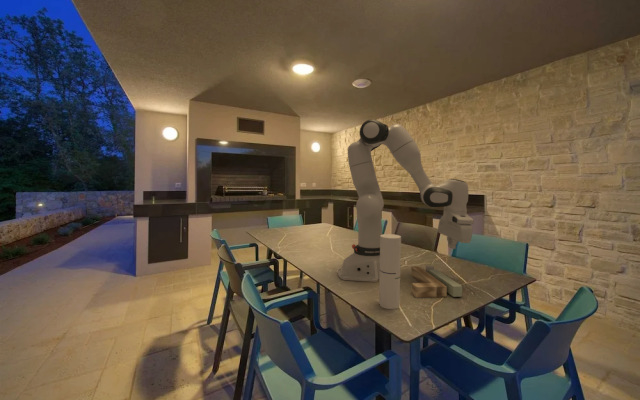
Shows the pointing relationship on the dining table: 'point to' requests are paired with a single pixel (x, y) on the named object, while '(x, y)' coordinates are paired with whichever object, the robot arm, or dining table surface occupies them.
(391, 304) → the cylindrical container
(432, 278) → the l-shaped wooden joint
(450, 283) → the folding leg
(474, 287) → the dining table surface
